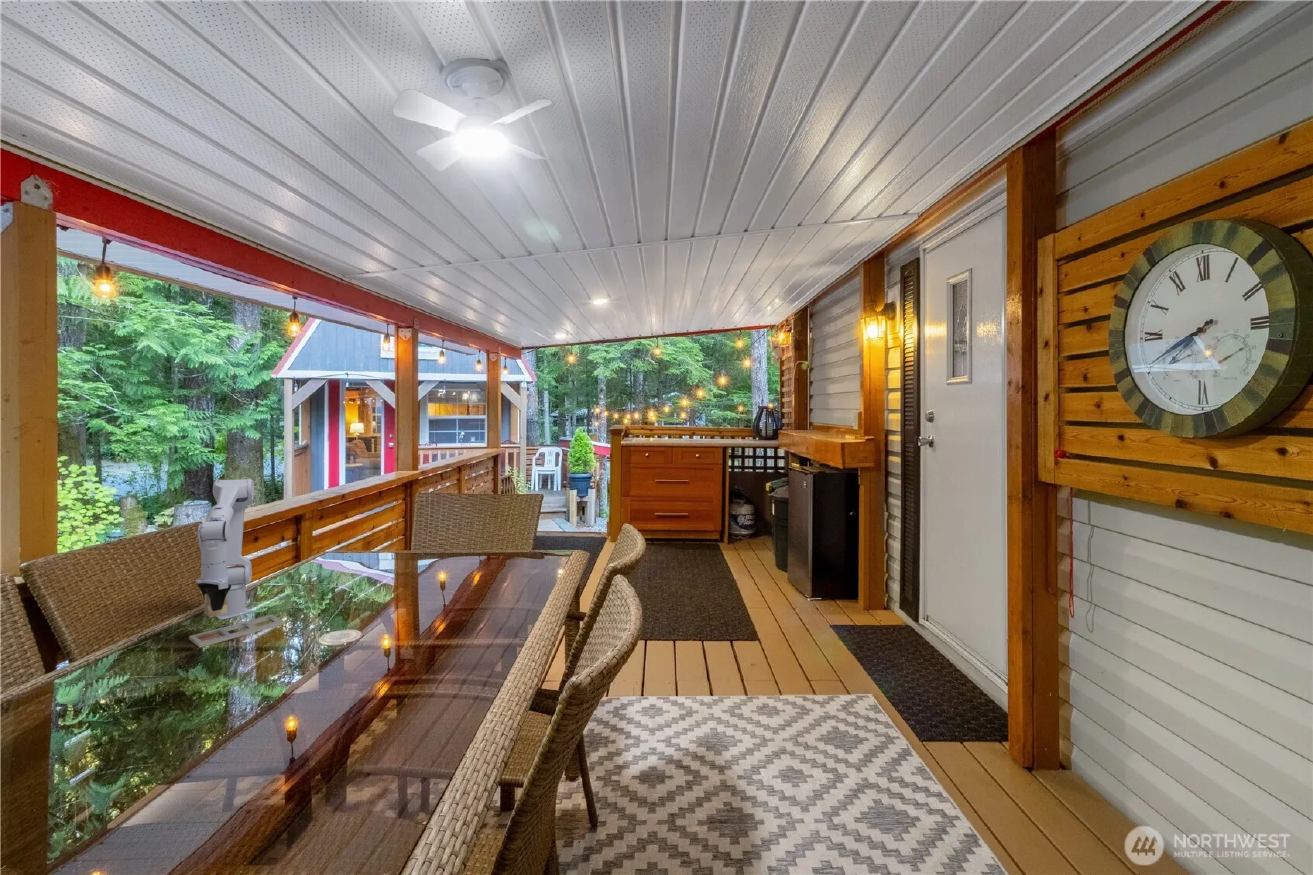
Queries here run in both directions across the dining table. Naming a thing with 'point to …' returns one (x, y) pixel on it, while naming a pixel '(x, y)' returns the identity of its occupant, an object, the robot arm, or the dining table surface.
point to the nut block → (209, 610)
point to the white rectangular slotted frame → (215, 636)
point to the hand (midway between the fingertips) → (214, 608)
